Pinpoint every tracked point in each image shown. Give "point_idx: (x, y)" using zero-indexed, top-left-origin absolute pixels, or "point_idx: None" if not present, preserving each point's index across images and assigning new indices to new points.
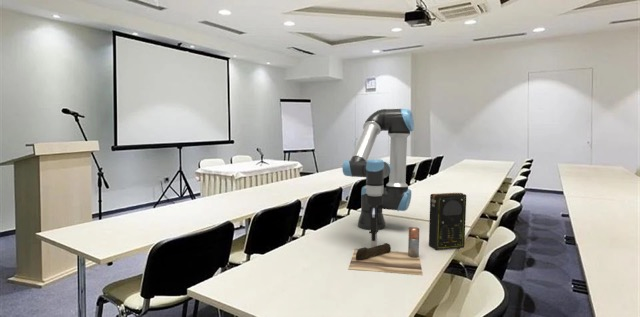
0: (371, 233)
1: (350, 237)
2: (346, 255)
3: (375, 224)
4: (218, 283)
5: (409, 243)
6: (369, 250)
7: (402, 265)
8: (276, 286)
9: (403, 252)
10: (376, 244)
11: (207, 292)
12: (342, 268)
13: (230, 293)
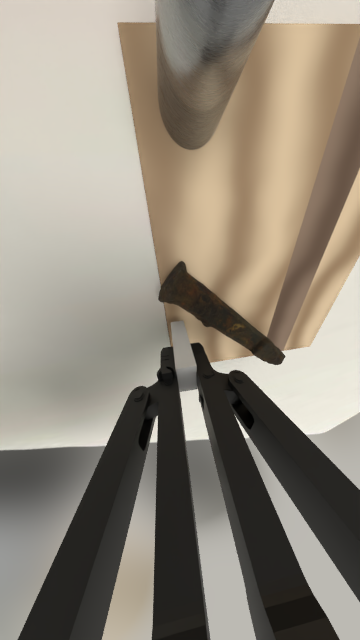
0: (196, 383)
1: (78, 399)
2: (223, 369)
3: (322, 459)
4: (316, 428)
5: (263, 14)
6: (261, 335)
7: (324, 185)
8: (343, 396)
9: (149, 187)
10: (185, 328)
11: (334, 425)
12: (300, 355)
13: (343, 415)
